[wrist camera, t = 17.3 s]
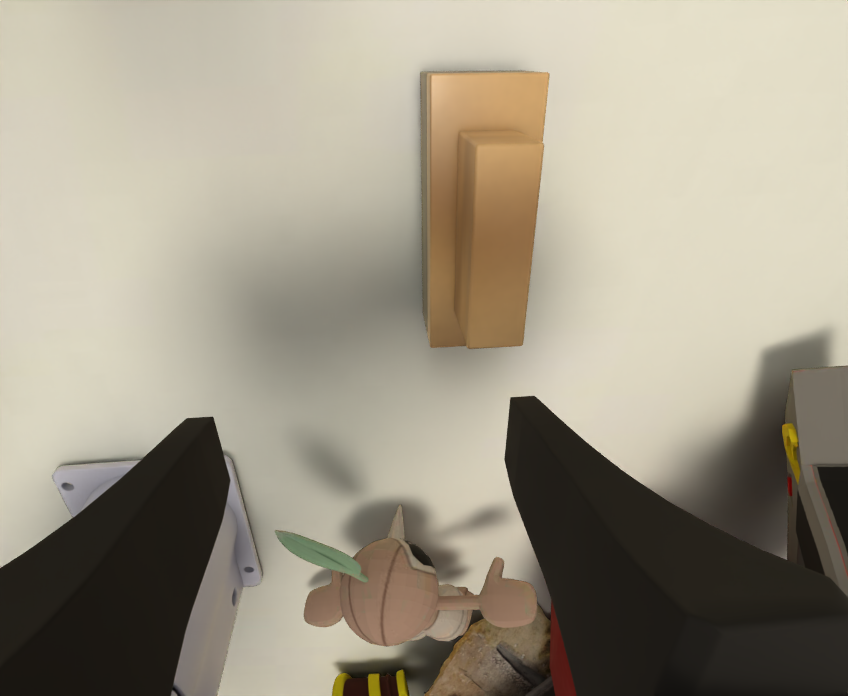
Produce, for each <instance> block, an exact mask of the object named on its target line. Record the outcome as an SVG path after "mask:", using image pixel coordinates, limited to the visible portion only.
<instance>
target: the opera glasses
mask: <svg viewBox="0 0 848 696" xmlns="http://www.w3.org/2000/svg"><path fill="white" fill-rule="evenodd" d="M332 696H409V690H408V686H407V681H406V677H405V673H404V670H399V671H397V673H396V676H390V675H389V674H386V676H385V677H381V676H380V674H369V675H368V678H351V676H350V675H349V674H347V673H342V674H340V675H338V676H337V678H336V679H335V682H334V685H333V691H332Z"/></svg>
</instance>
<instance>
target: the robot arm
mask: <svg viewBox="0 0 848 696" xmlns="http://www.w3.org/2000/svg"><path fill="white" fill-rule="evenodd" d="M505 464H506V468H507V472H508V477H509V481H510V485H511V489H512V493H513V496H514V499H515V502H516V505H517V507H518V510H519V513H520V515H521V518H522V521H523V523H524V526H525V528H526V531H527V534H528V536H529V539H530V541H531V544H532V547H533V549H534V552H535V554H536V557H537V560H538V562H539V565H540V567H541V570H542V572H543V575H544V578H545V581H546V584H547V587H548V590H549V593H550V596H551V599H552V603H553V607H554V610H555V614H556V618H557V621H558V625H559V628H560V632H561V636H562V640H563V643H564V647H565V651H566V655H567V659H568V663H569V667H570V671H571V674H572V678H573V682H574V687H575V691H576V695H577V696H848V693H847V692H846V691H847V690H848V597H847V596H846V594H845V593H844V592H843V591H842V590H841V589H840V588H839V587H838V586H837V585H836V583H835V582H834V581H833V580H832V579H831V578H830V577H827V576H825V575H822V574H820V573H818V572H815V571H813V570H810V569H808V568H805V567H803V566H800V565H798V564H795V563H793V562H790V561H788V560H785V559H783V558H780V557H778V556H776V555H773V554H771V553H768V552H766V551H764V550H762V549H759V548H757V547H755V546H753V545H751V544H749V543H747V542H745V541H742V540H740V539H738V538H736V537H734V536H732V535H730V534H728V533H726V532H724V531H722V530H720V529H718V528H716V527H714V526H712V525H710V524H708V523H706V522H704V521H703V520H701V519H699V518H697V517H695V516H694V515H692V514H690V513H688V512H686V511H684V510H683V509H681V508H679V507H677V506H676V505H674V504H672V503H671V502H669V501H667V500H666V499H664V498H662V497H661V496H659V495H658V494H656V493H655V492H653V491H652V490H650V489H649V488H647V487H645V486H644V485H642V484H641V483H639V482H638V481H636V480H635V479H633V478H632V477H631V476H629V475H628V474H626V473H625V472H624V471H622V470H621V469H620V468H618V467H617V466H616V465H614V464H613V463H612V462H610V461H609V460H608V459H606V458H605V457H604V456H603V455H601V454H600V453H599V452H598V451H596V450H595V449H594V448H593V447H591V446H590V445H589V444H588V443H587V442H585V441H584V440H583V439H582V438H581V437H580V436H578V435H577V434H576V433H575V432H574V431H573V430H572V429H570V428H569V427H568V426H567V425H566V424H565V423H564V422H563V421H562V420H560V419H559V418H558V417H557V416H556V415H555V414H554V413H553V412H552V411H551V410H550V409H548V408H547V407H546V406H545V405H544V404H543V403H542V402H541V401H540V400H539V399H537V398H536V397H535V396H527V397H511V399H510V409H509V419H508V429H507V440H506V450H505ZM52 478H53V480H54V482H55V484H56V486H57V488H58V490H59V492H60V494H61V496H62V498H63V500H64V502H65V504H66V506H67V508H68V509H69V511H70V513H71V515H72V517H73V518H72V519H71V520H69V521H68V522H67V523H65V524H64V525H63V526H61V527H60V528H59V529H57V530H56V531H54V532H53V533H52V534H50V535H49V536H47V537H46V538H45V539H43V540H42V541H40V542H39V543H38V544H36V545H35V546H33V547H32V548H31V549H29V550H28V551H26V552H25V553H23V554H22V555H20V556H19V557H17V558H15V559H14V560H12V561H11V562H9V563H8V564H6V565H4V566H3V567H1V568H0V696H217V694H218V690H219V687H220V682H221V678H222V674H223V670H224V665H225V661H226V657H227V653H228V648H229V644H230V640H231V636H232V632H233V627H234V623H235V619H236V615H237V610H238V606H239V602H240V598H241V593H242V589H243V587H252V586H257V585H259V584H260V583H261V581H262V571H261V568H260V564H259V560H258V556H257V552H256V549H255V545H254V541H253V537H252V534H251V530H250V526H249V522H248V519H247V515H246V511H245V507H244V504H243V500H242V496H241V492H240V488H239V485H238V481H237V477H236V473H235V470H234V466H233V462H232V460H231V459H230V458H229V457H228V456H226V455H224V454H223V451H222V447H221V443H220V440H219V436H218V432H217V429H216V425H215V421H214V418H213V417H201V418H187V419H186V420H184V421H183V422H182V423H181V424H180V425H179V426H177V427H176V428H175V429H174V430H173V431H172V432H171V433H170V434H169V435H168V436H167V437H165V438H164V439H163V440H162V441H161V442H160V443H159V444H158V445H157V446H156V447H155V448H154V449H153V450H152V451H150V452H149V453H148V454H147V455H146V456H145V457H144V458H143V459H142V460H134V461H120V462H106V463H92V464H77V465H63V466H59V467H58V468H57V469H56V470H55V471H54V473H53V475H52ZM69 483H70V484H69Z"/></svg>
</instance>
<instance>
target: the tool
mask: <svg viewBox="0 0 848 696" xmlns="http://www.w3.org/2000/svg"><path fill="white" fill-rule="evenodd" d="M785 423H786V424H784V425H782V435H783V440H784V446H785V451H786V454H787V476H788V477H787V480H788V533H787V560H788V561H790V562H793V563H795V564H798V565H800V566H803V567H805V568H808V569H810V570H813V571H815V572H818V573H820V574H822V575H825V576H827V577H830V578H831V579H832V580H833V581H834V582H835V583H836V585H837V586H838V587H839V588H840V589H841V590H842V591H843V592H844V593H845V594H846V596H847V597H848V366H835V367H821V368H808V369H794V370H792V374H791V380H790V387H789V393H788V398H787V403H786V409H785ZM846 692H847V693H848V690H847V691H846Z"/></svg>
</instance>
